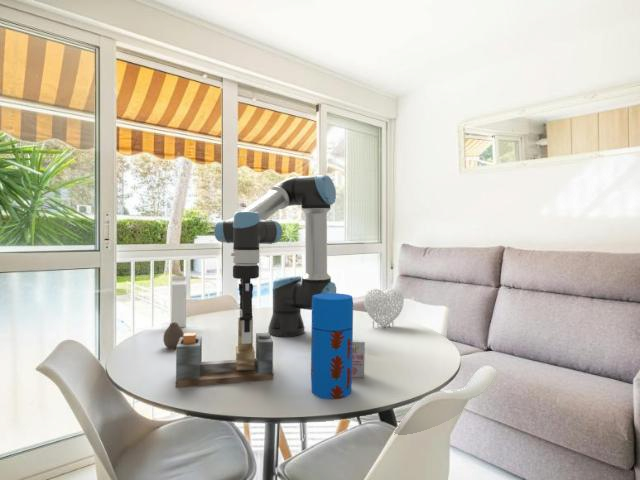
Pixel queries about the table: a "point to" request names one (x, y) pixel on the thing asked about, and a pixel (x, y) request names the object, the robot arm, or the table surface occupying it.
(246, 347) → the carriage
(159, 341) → the table surface
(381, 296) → the decorative heart
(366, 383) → the table surface
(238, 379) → the rail track
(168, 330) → the vase
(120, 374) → the table surface
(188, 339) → the button
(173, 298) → the milk
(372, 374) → the table surface
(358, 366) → the white printed box
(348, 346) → the thermos
